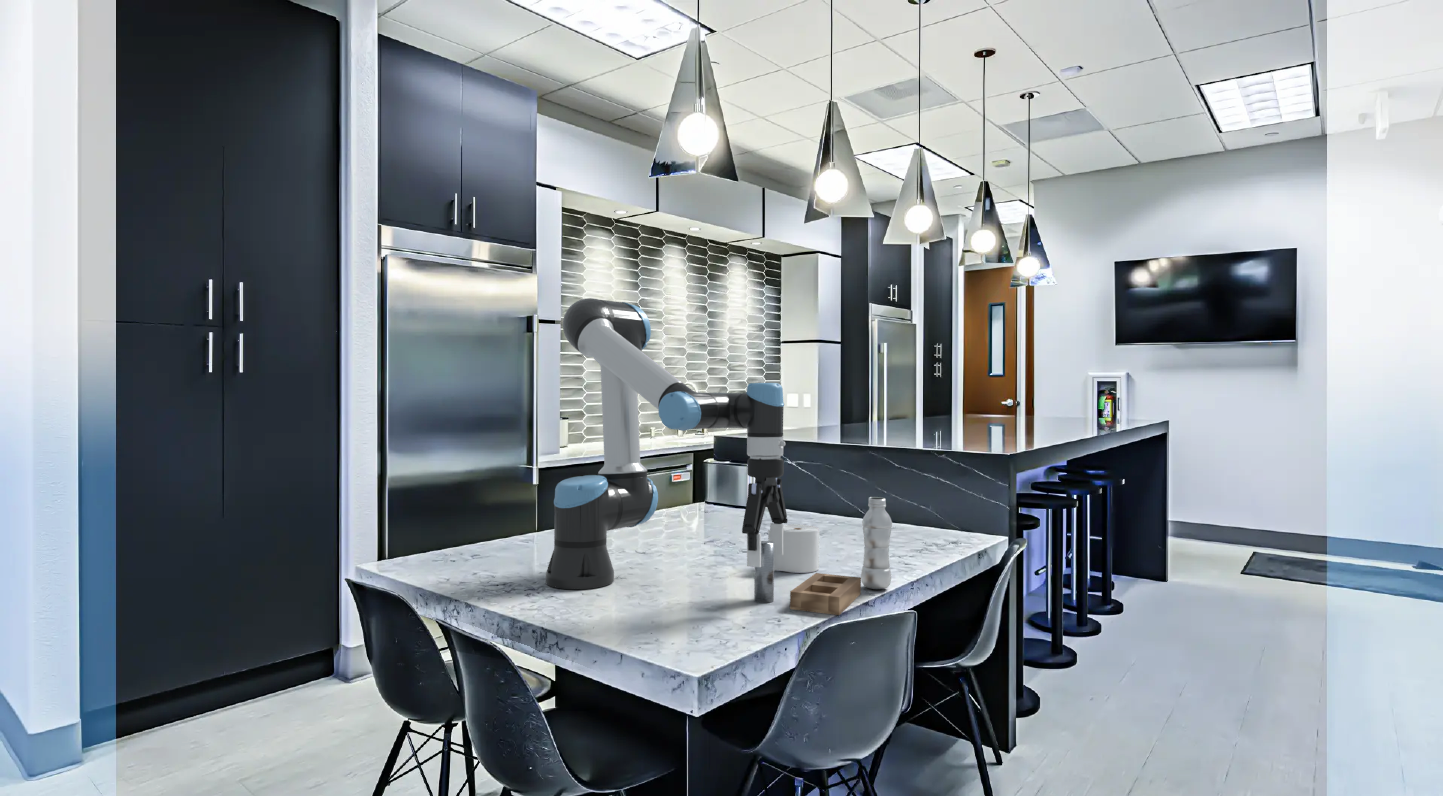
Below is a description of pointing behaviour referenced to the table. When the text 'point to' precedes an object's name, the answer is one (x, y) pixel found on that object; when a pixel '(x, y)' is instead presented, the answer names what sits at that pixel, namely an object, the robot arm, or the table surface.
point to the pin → (765, 574)
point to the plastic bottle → (876, 545)
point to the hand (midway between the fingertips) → (765, 560)
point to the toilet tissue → (798, 549)
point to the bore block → (825, 593)
